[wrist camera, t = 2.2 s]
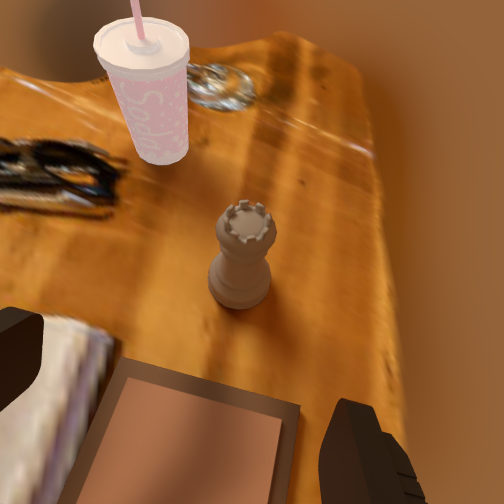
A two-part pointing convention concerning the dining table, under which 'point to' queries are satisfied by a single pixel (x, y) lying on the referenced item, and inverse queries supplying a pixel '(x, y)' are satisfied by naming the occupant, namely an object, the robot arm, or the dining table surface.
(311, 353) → the dining table surface
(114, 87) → the beverage cup
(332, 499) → the robot arm
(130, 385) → the tile board
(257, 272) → the rook chess piece
